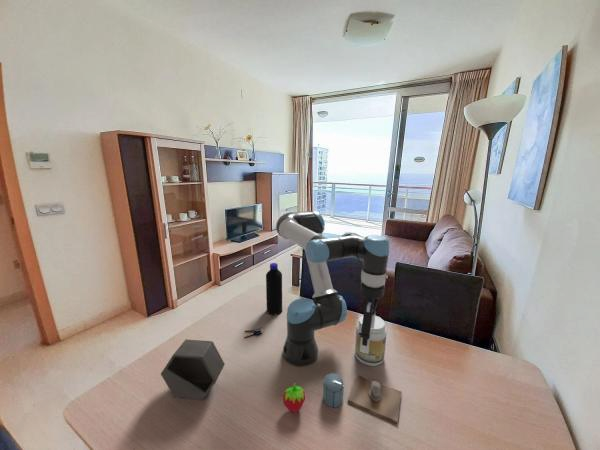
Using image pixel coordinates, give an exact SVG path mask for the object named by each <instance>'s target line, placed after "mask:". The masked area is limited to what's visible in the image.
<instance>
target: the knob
mask: <svg viewBox="0 0 600 450" xmlns="http://www.w3.org/2000/svg"><path fill="white" fill-rule="evenodd" d="M322 384H323V385H322V386H323V387H322V399H323V401H324V404H325V405H326V406H328V407H331V408H333V409H334V408H337V407H341V406H342V403H343V401H344V391H345V390H344V389H345V384H344V380H343V378H342V377H341V376H340V375H339V374H337V373H329V374H326V376H324V378H323V383H322Z"/></svg>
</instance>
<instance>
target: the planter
mask: <svg viewBox="0 0 600 450" xmlns="http://www.w3.org/2000/svg"><path fill="white" fill-rule="evenodd" d="M224 367H225V362H224V360H223V358H222V356H221V355H220V352H219V351H218V350H217V347H216V345H215V344H214V341H211V340H199V339H197V340H196V339H184V340H183V342H181V345H180V346H179V347H178V348H177V349H176V351H175V352H174V353H173V355H171V358H170V359H169V361H168V362H167V363H166V365H165V367H164V368H163V370H162V371H161V372H160V376H161V377H162V379H163V380H164V382H165V384H166V386H167V387H168V389H169V391H170V392H171V394H172V395H173V397H174V398H175V397H178V398H177V399H186V400H198V401H203V400H204V398H206V397H207V395H208V393H209V392H210V390H211V389H212V388H213V387H214V385H215V384H216V383H217V381H218V379H219V376H220V375H221V372H222V370H223V368H224Z"/></svg>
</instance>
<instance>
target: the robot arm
mask: <svg viewBox="0 0 600 450" xmlns="http://www.w3.org/2000/svg"><path fill="white" fill-rule="evenodd" d="M325 224H326V223H325V220H324V217H323V216H322V214H321V213H319V212H318V211H311V210H307V211H297V212H295V211H294V212H293V211H292V212H286V213H284V214H283V215H281V216H280V217H279V218H278V219H277V220H276V224H275V229H276V232H277V234H278V235H279V236H280V237H282V238H283V239H284V240H290V241H291V242H292V243H295V244H296V245H297V246H299V247H300V248H301V249H302V250H304V252H305V257H306V261H307V265H308V271H309V275H310V278H311V282H312V287H313V292H314V293H313V295H312V299H310V298H308V297H307V298H304V297H303V298H301V297H300V298H297V299H295V300H293V301H291V302H290V303H289V305H288V307H287V312H286V328H287V329H286V331H287V332H286V333H287V334H286V337H285V338H286V339H285V341H284V344H283V348H282V355H283V357H284V360H285V361H286V362H287V363H288V364H291V365H294V366H299V367H300V366H301V367H303V366H308V365H310V364H313V363H314V362H315V361H316V360H317V358H318V355H319V347H318V344H317V341H316V337H315V331H318V330H322V329H325V328H328V327H331V326H337V325H338V324H341V323H343V322H344V321H345V320H346V317H347V312H348V308H347V307H348V306H347V304H346V300H345V299H344V297H343V296H342V295H339V294H338V291H337V290H336V289H334V288H333V284H332V280H331V276H330V271H329V267H328V264H327V262H330V261H335V260H343V259H348V258H356V259H358V260H360V261H362V265H361V266H362V268H361V275H360V280H361V282H360V290H359V291H360V294H361V295H362V296H363V297H365V299H364V301H363V305H364V306H363V315H362V316H363V322H362V329H361V333H359V335H360V337H361V343H360V352H363V353H366V354H368V353H369V344H370V330H371V328H372V329H374V323H375V316H376V313H377V312H378V311H379V308H377V307H378V306H377V305H378V300H379V299H382V298H383V297H384V295H385V288H386V286H385V284H386V279H388V277H389V276H388V275H387V269H388V263H389V262H388V259H389V254H390V240H389V238H388V237H386V236H383V235H378V234H370V235H366V236H365V237H364V236H362V235H360V234H358V233H355V232H351V231H350V232H349V231H348V232H345V233H343V234H342V235H340V236H334V237H326V236H323V233H324V231H325Z"/></svg>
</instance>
